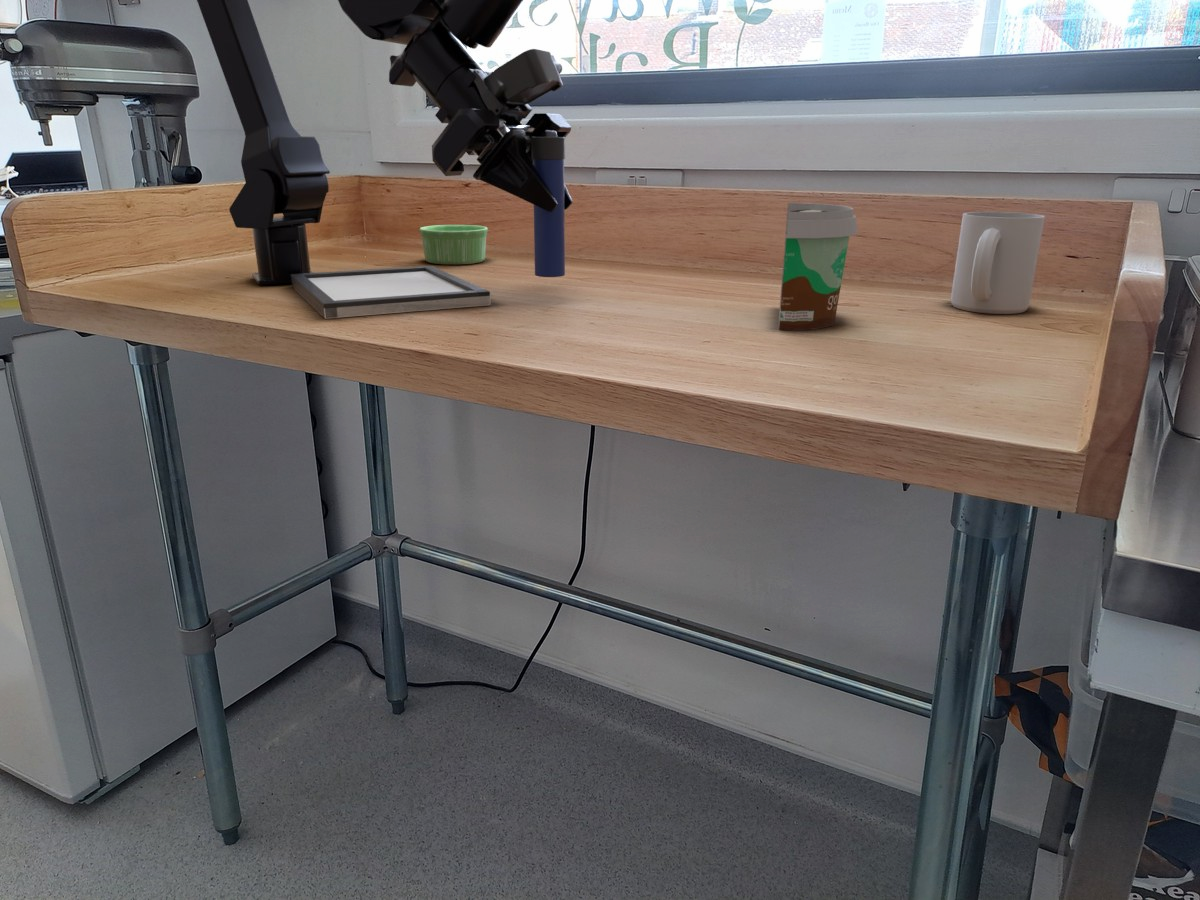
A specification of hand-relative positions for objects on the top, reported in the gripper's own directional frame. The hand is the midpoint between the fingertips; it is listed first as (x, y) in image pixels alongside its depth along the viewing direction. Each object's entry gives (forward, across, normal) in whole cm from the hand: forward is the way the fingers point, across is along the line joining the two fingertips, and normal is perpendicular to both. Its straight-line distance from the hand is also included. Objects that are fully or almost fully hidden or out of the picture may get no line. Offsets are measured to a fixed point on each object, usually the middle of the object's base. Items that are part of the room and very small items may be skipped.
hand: (561, 207), depth 83 cm
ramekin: (-12, +23, +26) cm, 36 cm away
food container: (+24, +2, -11) cm, 27 cm away
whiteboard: (-7, -4, +20) cm, 21 cm away
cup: (+34, +14, -21) cm, 43 cm away
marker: (+4, 0, +6) cm, 7 cm away
